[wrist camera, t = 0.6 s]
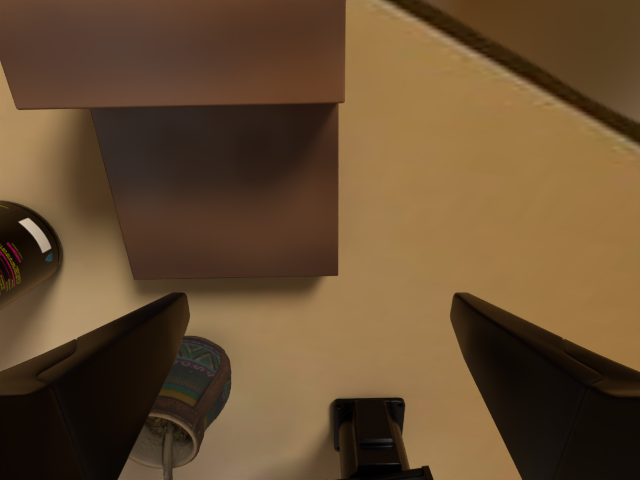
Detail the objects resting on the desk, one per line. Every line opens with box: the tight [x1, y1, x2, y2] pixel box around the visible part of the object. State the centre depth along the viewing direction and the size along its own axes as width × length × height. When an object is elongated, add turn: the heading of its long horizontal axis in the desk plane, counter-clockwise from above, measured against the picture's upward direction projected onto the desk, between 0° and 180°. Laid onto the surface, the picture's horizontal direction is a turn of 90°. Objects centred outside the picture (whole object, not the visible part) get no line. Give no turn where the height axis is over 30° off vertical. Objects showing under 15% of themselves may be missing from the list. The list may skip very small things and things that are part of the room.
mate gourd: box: [128, 336, 231, 480], centre depth 25 cm, size 7×8×10 cm
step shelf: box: [0, 0, 346, 280], centre depth 19 cm, size 16×14×8 cm
